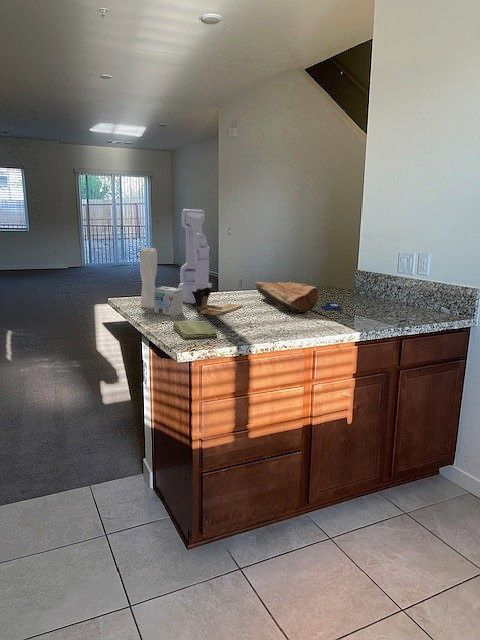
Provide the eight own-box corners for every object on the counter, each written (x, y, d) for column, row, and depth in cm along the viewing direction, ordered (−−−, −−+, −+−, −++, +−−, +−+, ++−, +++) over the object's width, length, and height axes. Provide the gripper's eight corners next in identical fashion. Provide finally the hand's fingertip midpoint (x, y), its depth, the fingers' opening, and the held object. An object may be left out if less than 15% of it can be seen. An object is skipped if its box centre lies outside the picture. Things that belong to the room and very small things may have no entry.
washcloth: (183, 341, 160) (183, 332, 159) (171, 329, 176) (171, 320, 175) (219, 339, 164) (219, 330, 164) (204, 327, 180) (205, 319, 180)
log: (317, 314, 208) (320, 280, 208) (280, 311, 204) (283, 276, 203) (284, 310, 249) (286, 282, 249) (252, 308, 244) (255, 279, 244)
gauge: (196, 310, 207) (196, 294, 205) (200, 308, 210) (201, 293, 209) (219, 313, 202) (219, 298, 200) (223, 312, 205) (224, 296, 204)
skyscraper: (136, 307, 210) (135, 244, 204) (144, 304, 217) (144, 243, 211) (152, 309, 208) (152, 245, 202) (159, 306, 215) (159, 244, 209)
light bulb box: (153, 312, 201) (153, 287, 198) (163, 310, 207) (163, 286, 204) (174, 316, 196) (174, 290, 194) (183, 313, 202) (183, 288, 200)
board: (200, 313, 203) (200, 310, 203) (224, 305, 224) (224, 302, 223) (218, 315, 200) (219, 313, 199) (241, 307, 220) (241, 305, 220)
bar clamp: (316, 301, 230) (335, 301, 232) (316, 306, 231) (335, 306, 233) (345, 318, 200) (366, 318, 202) (344, 324, 200) (366, 323, 203)
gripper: (201, 277, 196) (201, 309, 199) (218, 274, 209) (217, 304, 212) (187, 276, 199) (187, 307, 202) (204, 272, 212) (203, 302, 215)
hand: (201, 305), depth 207 cm, fingers closed on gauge, 4 cm apart
